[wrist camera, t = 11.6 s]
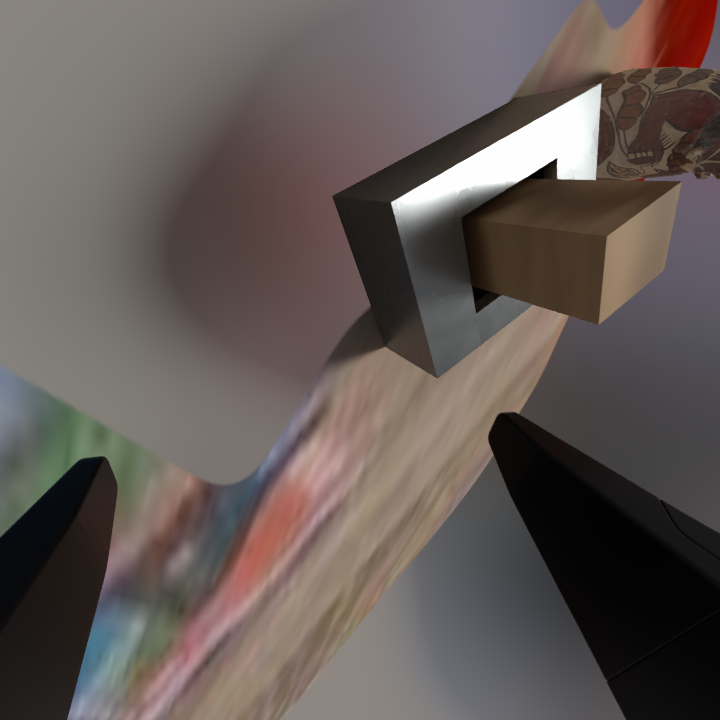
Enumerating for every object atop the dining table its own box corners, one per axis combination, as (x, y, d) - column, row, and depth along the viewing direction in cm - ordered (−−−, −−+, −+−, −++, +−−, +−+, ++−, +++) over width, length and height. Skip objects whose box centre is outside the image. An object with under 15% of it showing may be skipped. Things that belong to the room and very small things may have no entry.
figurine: (558, 150, 27) (798, 139, 18) (611, 47, 26) (895, -21, 16) (592, 201, 31) (797, 213, 22) (638, 115, 30) (873, 92, 21)
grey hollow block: (385, 347, 25) (437, 378, 21) (332, 196, 19) (390, 202, 15) (526, 248, 29) (590, 260, 25) (518, 97, 23) (601, 82, 19)
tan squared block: (427, 272, 24) (598, 324, 16) (414, 211, 22) (606, 236, 14) (481, 238, 26) (663, 270, 18) (474, 177, 23) (681, 181, 15)
